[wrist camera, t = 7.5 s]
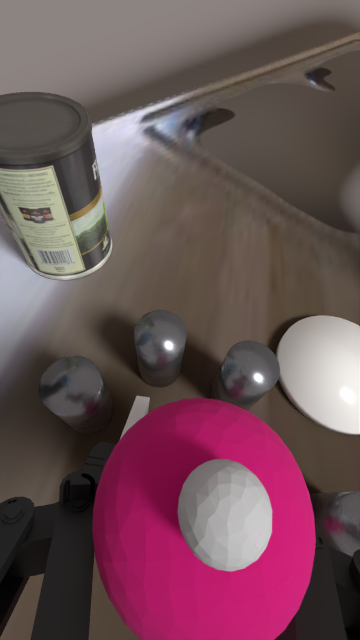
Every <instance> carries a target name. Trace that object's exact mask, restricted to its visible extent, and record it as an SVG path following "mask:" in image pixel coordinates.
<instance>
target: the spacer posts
mask: <svg viewBox="0 0 360 640" xmlns="http://www.w3.org/2000/svg"><path fill="white" fill-rule="evenodd" d="M134 337H135V345H136V352H137V360H138V367H139V373H140V376H141V378H142V379H143V380H144V381H145V382H146V383H147V384H148V385H150V386H153V387H166V386H168V385H170V384H172V383H173V382H174V381H175V380H176V379H177V378H178V376H179V373H180V369H181V364H182V358H183V353H184V348H185V342H186V337H187V330H186V326H185V324H184V322H183V321H182V319H181V318H180V317H178V316H177V315H176V314H174V313H172V312H169V311H165V310H156V311H151V312H149V313H147V314H145V315H143V316H142V317H141V318H140V319H139V320H138V322H137V324H136V326H135V329H134ZM279 375H280V366H279V362H278V360H277V358H276V356H275V354H274V353H273V352H272V351H271V350H270V349H269V348H268V347H266V346H265V345H263V344H261V343H259V342H255V341H242V342H239V343H237V344H235V345H234V346H232V347H231V349H230V350H229V351H228V353H227V355H226V357H225V359H224V361H223V363H222V365H221V368H220V370H219V372H218V374H217V376H216V378H215V380H214V382H213V384H212V386H211V393H210V394H211V399H216V400H220V401H224V402H227V403H231V404H233V405H235V406H238V407H240V408H242V409H244V410H247V411H248V410H249V409H250V408H251V407H252V406H253V405H254V404H255V403H256V402H257V401H258V400H259V399H260V398H261V397H262V396H263V395H264V394H265V393H267V392H268V391H269V390H270V389H271V388H272V387H273V386H274V385H275V384H276V382H277V380H278V378H279ZM39 394H40V398H41V400H42V402H43V403H44V405H45V406H46V407H47V408H49V409H50V410H51V411H52V412H53V413H55V414H56V415H57V416H58V417H59V418H61V419H62V420H63V421H64V422H65V423H67V424H68V425H69V426H70V427H71V428H73V429H74V430H75V431H77V432H79V433H83V434H90V433H94V432H97V431H99V430H101V429H102V428H103V427H105V426H106V425H107V423H108V422H109V421H110V419H111V417H112V414H113V401H112V399H111V397H110V394H109V392H108V390H107V388H106V386H105V383H104V381H103V379H102V377H101V374H100V372H99V370H98V368H97V366H96V365H95V364H94V363H93V362H92V361H90V360H89V359H87V358H85V357H81V356H68V357H64V358H62V359H59V360H57V361H56V362H54V363H53V364H52V365H50V366H49V367H48V368H47V370H46V371H45V372H44V374H43V376H42V378H41V380H40V384H39ZM310 499H311V504H312V508H313V513H314V522H315V529H316V530H317V531H318V532H320V533H321V535H322V536H323V537H324V539H325V540H326V543H327V545H329V546H330V547H332V548H334V549H336V550H338V551H341V552H343V553H345V554H347V555H350V556H352V557H353V554H354V552H355V551H356V550H358V549H360V492H334V493H311V494H310Z"/></svg>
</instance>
